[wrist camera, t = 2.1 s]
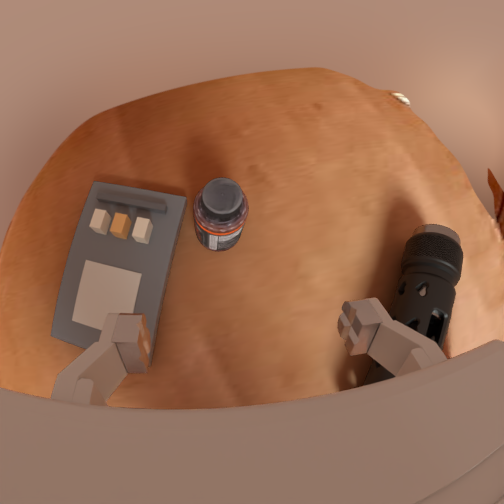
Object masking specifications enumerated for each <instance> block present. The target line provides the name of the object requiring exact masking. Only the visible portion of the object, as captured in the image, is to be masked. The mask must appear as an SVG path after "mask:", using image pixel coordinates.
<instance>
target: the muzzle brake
mask: <svg viewBox="0 0 504 504" xmlns="http://www.w3.org/2000/svg"><path fill="white" fill-rule="evenodd" d="M462 263H463V251H462V249H461V246H460V238H459V236H458V235H457V233H456V232H454V231H453V230H452V229H450V228H448V227H445V226H442V225H437V224H427V225H422V226H420V227H418V228H416V229H415V231H414V232H413V235H412V237H411V238H410V239H409V240H408V241H407V243H406V246H405V251H404V255H403V259H402V263H401V269H402V273H403V275H404V276H402V277H401V278H400V280H399V282H398V286H397V289H396V293H395V296H394V300H393V303H392V307H391V310H390V313H389V316H390V317H391V318H392V320H393V321H394V320H396V321H398V322H400V323H402V324H404V325H405V326H407V327H409V328H411V329H413V330H415V331H416V332H418V333H420V334H422V335H424V336H425V337H427V338H429V339H431V340H433V341H434V342H436V343H437V345H438V346H439V348H440V349H441V350H443V344H444V341H445V337H446V334H447V331H448V327H449V323H450V319H451V314H452V307H453V304H454V300H455V295H456V292H455V289H454V286H456V285H457V283H458V281H459V280H460V277H461V270H462ZM395 377H396V376H395V375H393V374H392V373H391V372H390V371H388V370H387V369H386V368H385V367H383V366H382V365H381V364H379V363H378V362H377V361H376V360H374V359H373V362H372V365H371V367H370V370H369V372H368V375H367V377H366V380H365V382H364V384H363V386H365V385H369V384H373V383H377V382H381V381H384V380H388V379H391V378H395Z"/></svg>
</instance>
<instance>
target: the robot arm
mask: <svg viewBox="0 0 504 504" xmlns="http://www.w3.org/2000/svg"><path fill="white" fill-rule="evenodd" d="M342 310H343V313H342V314H341V315H340V316H339V319H338V331H339V334H340V336H341V337H342V338H343V339H345V340H346V342H345V346H346V348H347V350H348V352H349V354H350V356H351V355H357V354H363V353H367V354H368V355H369V356H371V357H372V358H373V359H374V360H376V361H377V362H378V363H379V364H381V365H382V366H383V367H385V368H386V369H387V370H388V371H390V372H391V373H392V374H393V375H395V376H396V377H395V378H391V379H388V380H384V381H381V382H377V383H373V384H369V385H365V386H361V387H357V388H353V389H349V390H344V391H340V392H335V393H330V394H325V395H320V396H315V397H309V398H303V399H297V400H291V401H284V402H277V403H269V404H260V405H250V406H240V407H226V408H209V409H139V408H122V407H109V406H108V405H107V403H106V401H107V400H108V398H109V397H110V396H111V395H112V393H113V392H114V391H115V390H116V388H117V387H118V386H119V384H120V383H121V382H122V381H123V379H124V378H125V377H126V376H127V373H148V365H149V358H148V355H147V354H148V353H149V352H150V347H151V338H150V332H149V329H148V328H147V327H146V322H147V320H146V317H145V314H144V313H108V314H107V316H106V319H105V322H104V325H103V329H102V332H101V335H100V338H99V342H95V343H93V344H92V345H91V346H90V347H89V348H88V349H86V350H85V351H84V352H83V353H82V354H81V355H79V356H78V357H77V358H76V359H75V360H74V361H73V362H71V363H70V364H69V365H68V366H67V367H66V368H65V369H64V370H62V371H61V372H60V373H59V374H58V376H57V379H56V382H55V385H54V388H53V392H52V395H51V399H50V398H44V397H39V396H34V395H29V394H25V393H21V392H16V391H12V390H8V389H4V388H1V387H0V504H504V342H503V341H500V340H492V341H490V342H488V343H486V344H483V345H481V346H479V347H477V348H474V349H472V350H470V351H468V352H465V353H463V354H460V355H458V356H455V357H453V358H450V359H447V358H446V356H445V355H444V353H443V352H442V350H441V349H440V348H439V346H438V345H437V343H436V342H434V341H433V340H431V339H429V338H427V337H425V336H424V335H422V334H420V333H418V332H416V331H415V330H413V329H411V328H409V327H407V326H405V325H404V324H402V323H400V322H398V321H396V320H394V321H393V320H392V318H391V317H390V316H389V314H388V313H387V311H386V310H385V308H384V307H383V306H382V304H381V303H380V301H379V300H378V299H377V298H375V297H374V298H367V299H360V300H352V301H345V302H344V303H343V306H342Z"/></svg>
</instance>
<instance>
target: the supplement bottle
mask: <svg viewBox="0 0 504 504" xmlns="http://www.w3.org/2000/svg"><path fill="white" fill-rule="evenodd" d="M248 209H249V206H248V200H247V198H246V196H245V194H244V193H243V191H242V190H241V188H240V186H239V185H238V184H237V183H236V182H235V181H233V180H231V179H229V178H223V177H222V178H216V179H213V180H211V181H210V182H208V183H207V184H206V185H205V187H203V188H202V189H201V190H200V191H199V192H198V194H197V196H196V197H195V200H194V205H193V211H194V220H195V229H196V235H197V237H198V239H199V241H200V242H201V244H202V245H203V246H204V247H206V248H207V249H209V250H212V251H225V250H228V249H230V248H231V247H233V246H234V245H235V244H236V243H237V241H238V239H239V238H240V235H241V232H242V230H243V227H244V224H245V221H246V218H247V215H248Z"/></svg>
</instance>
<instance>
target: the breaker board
mask: <svg viewBox="0 0 504 504" xmlns="http://www.w3.org/2000/svg"><path fill="white" fill-rule="evenodd" d="M186 206H187V198H186V197H183V196H177V195H172V194H167V193H162V192H156V191H151V190H145V189H139V188H134V187H128V186H122V185H116V184H110V183H104V182H98V181H94V182H93V185H92V187H91V190H90V192H89V195H88V197H87V200H86V203H85V206H84V208H83V211H82V214H81V217H80V220H79V223H78V226H77V229H76V232H75V235H74V238H73V241H72V245H71V248H70V251H69V255H68V258H67V262H66V266H65V270H64V273H63V277H62V281H61V286H60V290H59V294H58V299H57V304H56V309H55V314H54V319H53V325H52V331H51V336H52V337H55V338H57V339H60V340H62V341H65V342H68V343H70V344H73V345H76V346H78V347H81V348H84V349H88V348H89V347H90V346H91V345H92V344H93V343H95V342H99V338H100V335H101V332H102V329H103V325H104V322H105V319H106V316H107V314H108V313H144V314H145V317H146V320H147V322H146V327H147V328H148V329H149V332H150V338H151V347H150V352H149V353H148V354H147V355H148V358H149V365H148V367H150V366H151V362H152V356H153V351H154V345H155V340H156V334H157V329H158V324H159V319H160V314H161V309H162V304H163V300H164V295H165V290H166V286H167V281H168V277H169V273H170V268H171V264H172V260H173V256H174V252H175V248H176V244H177V240H178V236H179V232H180V228H181V225H182V221H183V217H184V214H185V210H186Z"/></svg>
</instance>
